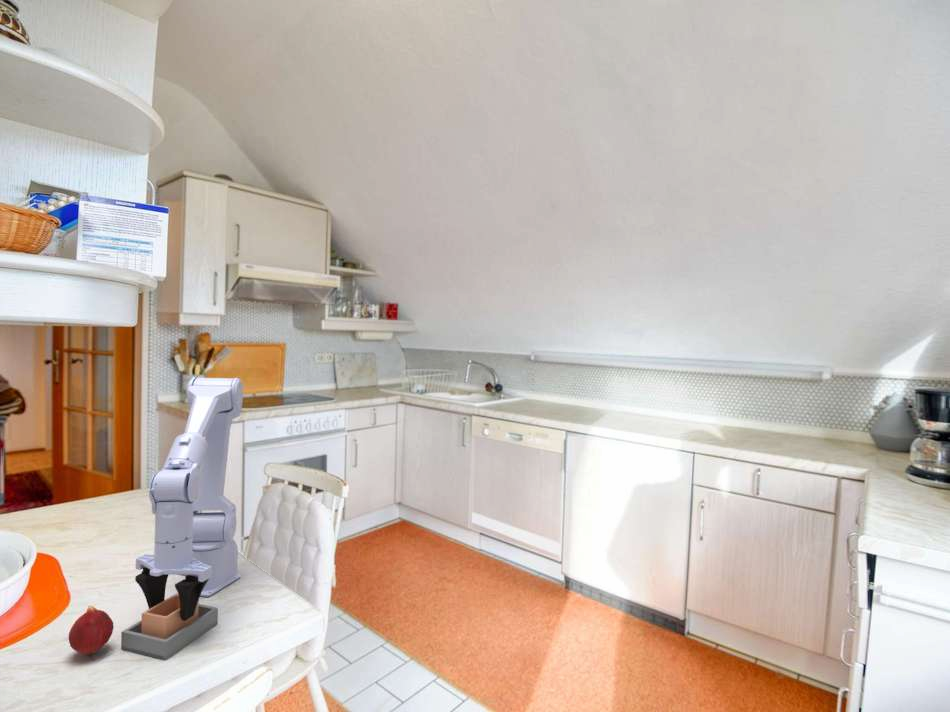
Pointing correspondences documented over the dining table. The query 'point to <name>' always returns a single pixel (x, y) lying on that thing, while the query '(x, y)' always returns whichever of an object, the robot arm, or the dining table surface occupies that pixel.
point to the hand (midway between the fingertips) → (172, 614)
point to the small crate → (165, 618)
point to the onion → (91, 631)
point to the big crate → (170, 646)
